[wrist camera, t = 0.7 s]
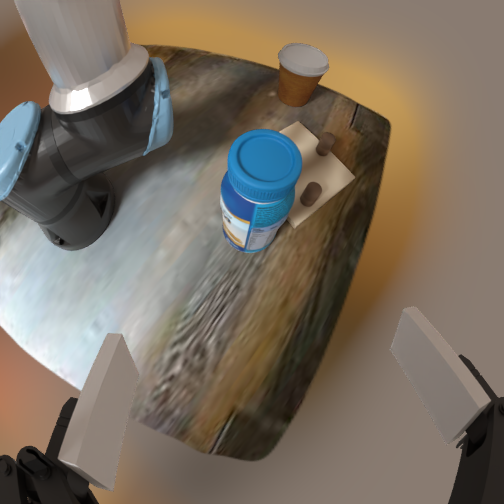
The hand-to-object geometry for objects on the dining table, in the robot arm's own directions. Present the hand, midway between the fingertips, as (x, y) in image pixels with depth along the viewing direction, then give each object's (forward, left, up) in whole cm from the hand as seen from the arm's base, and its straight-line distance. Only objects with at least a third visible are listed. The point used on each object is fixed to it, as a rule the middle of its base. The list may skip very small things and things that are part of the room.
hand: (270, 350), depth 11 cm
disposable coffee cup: (-28, +36, -28) cm, 54 cm away
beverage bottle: (-11, +10, -28) cm, 32 cm away
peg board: (-14, +23, -28) cm, 39 cm away
